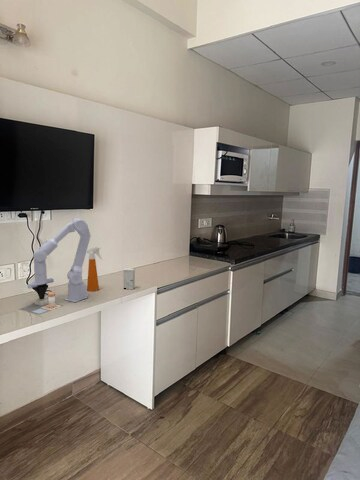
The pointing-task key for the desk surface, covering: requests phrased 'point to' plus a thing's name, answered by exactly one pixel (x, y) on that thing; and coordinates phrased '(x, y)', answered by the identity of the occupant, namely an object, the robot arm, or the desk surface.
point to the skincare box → (129, 278)
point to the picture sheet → (39, 308)
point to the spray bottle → (93, 270)
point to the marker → (51, 299)
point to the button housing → (41, 302)
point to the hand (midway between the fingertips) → (41, 298)
